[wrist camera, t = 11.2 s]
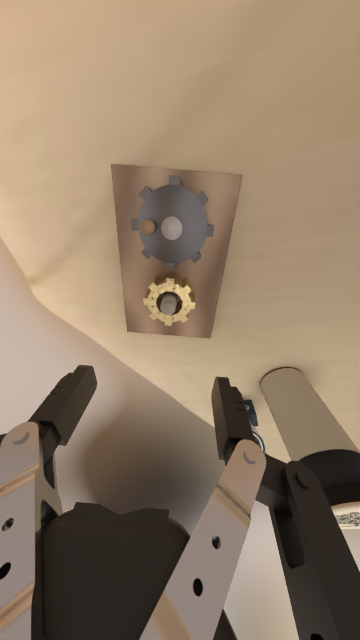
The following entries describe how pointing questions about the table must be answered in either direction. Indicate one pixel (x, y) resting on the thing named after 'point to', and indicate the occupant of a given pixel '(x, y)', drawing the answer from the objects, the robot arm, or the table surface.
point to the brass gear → (172, 285)
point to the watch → (254, 423)
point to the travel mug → (316, 441)
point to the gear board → (186, 269)
